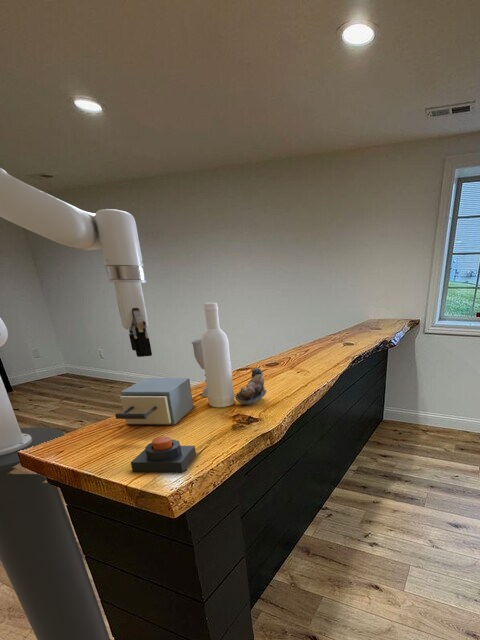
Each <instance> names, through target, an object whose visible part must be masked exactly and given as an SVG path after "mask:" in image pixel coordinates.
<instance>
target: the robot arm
mask: <svg viewBox="0 0 480 640" xmlns="http://www.w3.org/2000/svg"><path fill="white" fill-rule="evenodd" d="M0 218H2V219H3V220H6V221H8V222H10V223H13V224H14V225H16V226H19V227H20V228H23V229H25V230H28V231H30V232H32V233H35V234H37V235H39V236H41V237H43V238H46V239H48V240H50V241H53V242H54V243H57V244H60V245H63V246H66V247H71V248H75V249H79V250H84V251H95V250H101V252H102V257H103V262H104V265H105V271H106V276H107V280H108V283H114V289H115V297H116V301H117V307H118V311H119V316H120V317H119V318H120V321H121V322H120V323H121V326H122V327H123V329H125V330H127V331H128V332H129V334H128V336H129V342H130V347H131V350H132V351H135V355H136V356H137V357H138V358H142V357H152V355H153V353H152V351H153V350H152V346H151V342H150V341H151V340H150V337H149V335H148V332H147V329H148V328H149V322H148V321H149V320H148V314H147V313H148V312H147V308H146V307H147V306H146V302H145V296H144V291H143V286H142V284H146V283H147V277H146V273H145V272H146V271H145V267H144V262H143V255H142V251H141V244H140V239H139V234H138V227H137V223H136V220H135V217H134V216H133V215H132V214H131V213H130V212H127V211H124V210H119V209H112V208H110V209H109V208H106V209H99V210H96V212H95V213H94V212H89V211H86V210H83V209H80V208H78V207H77V206H75V205H72V204H70V203H68V202H66V201H64V200H61V199H59V198H57V197H55V196H53V195H51V194H49V193H47V192H46V191H42V190H40V189H38V188H36V187H34V186H33V185H30V184H28V183H26V182H24V181H22V180H20V179H19V178H16V177H14V176H12V175H10V174H9V173H8V172H7V171H6V170H5V169H3V168H2V167H0ZM8 336H9V332H8V328H7V326H6V324H5V322H4V321H3V318H1V317H0V348H1V347H3V346H4V345H5V344H6V342H7V340H8V338H9V337H8ZM20 428H21V427H20V425H19V423H18V420H17V417H16V415H15V411H14V408H13V406H12V403H11V401H10V397H9V395H8V392H7V389H6V387H5V383H4V381H3V378H2V376H1V375H0V456H1V455H6V454H9V453H12V452H15V451H18V450H20V449H23V448H25V447H27V446H28V445H30V444H31V443H32V437H31V436H30V435H28V434H22V433H21V430H20Z"/></svg>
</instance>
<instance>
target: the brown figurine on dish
mask: <svg viewBox="0 0 480 640" xmlns="http://www.w3.org/2000/svg"><path fill="white" fill-rule="evenodd" d="M263 374H264V373H263V370H262V369H260V368H259V367H255V368H252V369H251V379H250V380H249V381H248V382H247V384H246V387H244V386H242V387H241V388H240V390H239V392H237V393H236V394H235V395H234V399H235V400H236V401H237V402H238V403H239V404H241V405H244V406H249V405H253V404H255V403H256V402H258V401H260V400H261V399H262V398H264V396H265V395H266V394H267V389H265V379H264V375H263Z"/></svg>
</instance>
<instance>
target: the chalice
mask: <svg viewBox="0 0 480 640" xmlns="http://www.w3.org/2000/svg"><path fill="white" fill-rule="evenodd" d="M190 343H191V344H192V349H193V355H194V358H195V360H196V362H197V364H198V366H199V367H200V369H201V370H203V371H205V368H204V360H203V352H202V344H201V339H192V340H190ZM204 377H205V378H206V375H205V374H204ZM204 382H206V379H205V380H204ZM201 396H202V397H205V398H208V391H207V385H205V387H204V388H203V389H202V393H201Z"/></svg>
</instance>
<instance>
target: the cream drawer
mask: <svg viewBox="0 0 480 640" xmlns="http://www.w3.org/2000/svg"><path fill="white" fill-rule="evenodd" d="M119 398H120V403H121V408H122V412H116V413H115V415H114V416H115V419H116V420H124V421H125V424H127V425H151V424H170V423H171V416H170V411H169V405H168V399H167V395H128V396H121V395H120V396H119Z"/></svg>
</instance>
